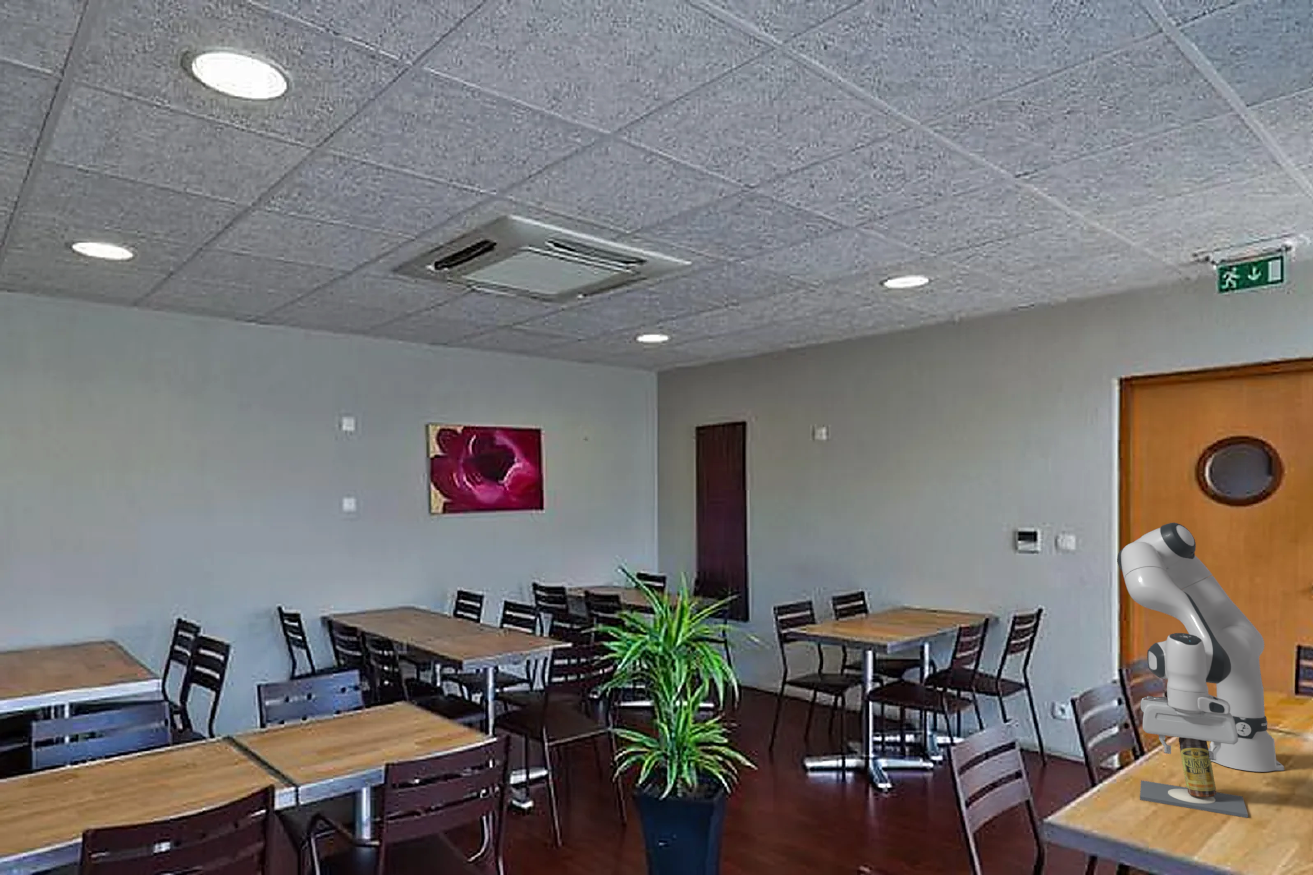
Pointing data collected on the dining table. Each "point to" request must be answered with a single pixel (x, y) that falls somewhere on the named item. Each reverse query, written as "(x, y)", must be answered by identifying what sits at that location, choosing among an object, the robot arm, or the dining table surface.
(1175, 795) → the mat
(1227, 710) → the robot arm
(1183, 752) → the sauce bottle
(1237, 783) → the dining table surface
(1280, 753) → the dining table surface
